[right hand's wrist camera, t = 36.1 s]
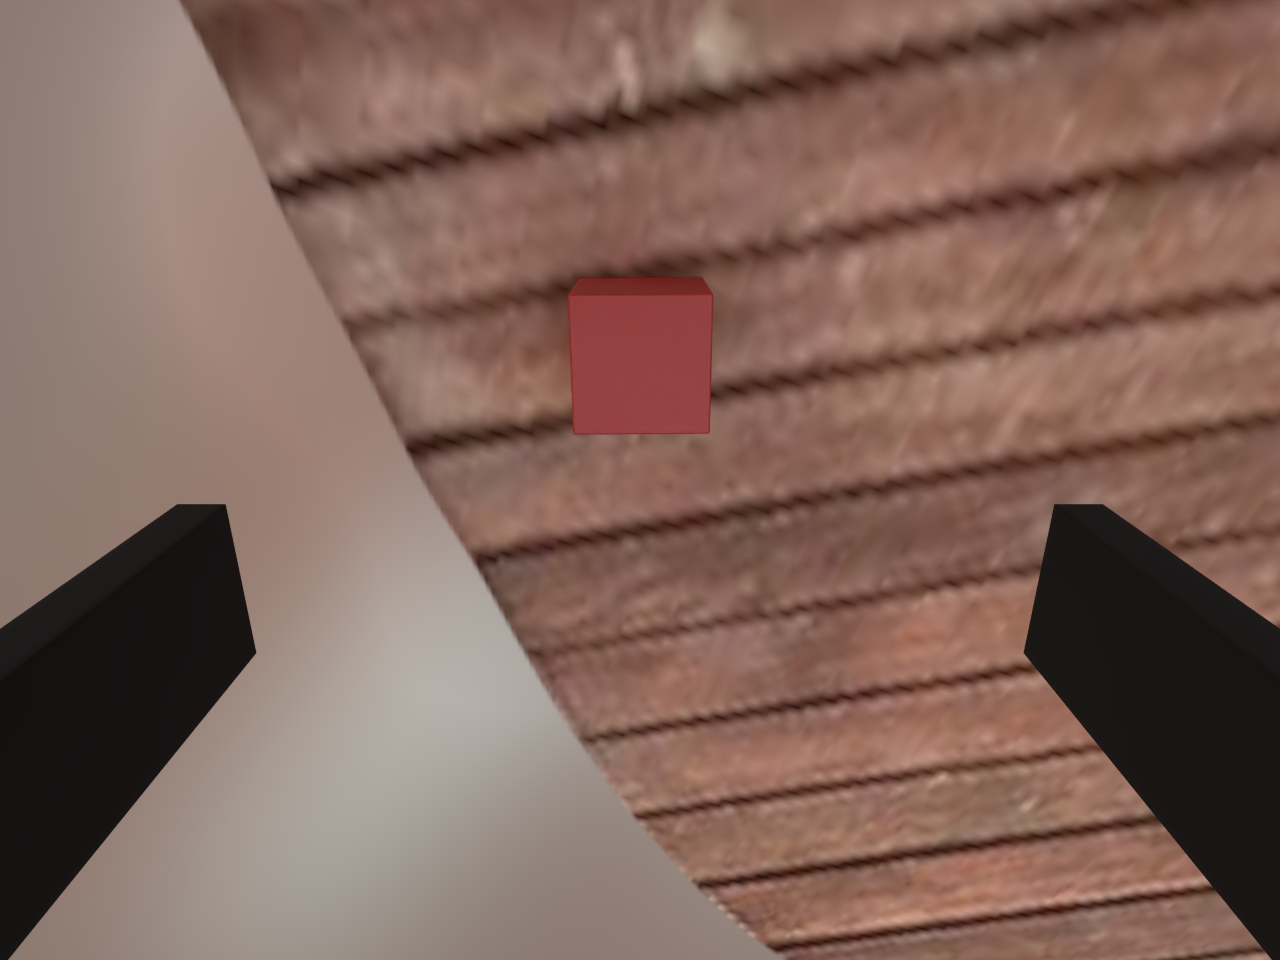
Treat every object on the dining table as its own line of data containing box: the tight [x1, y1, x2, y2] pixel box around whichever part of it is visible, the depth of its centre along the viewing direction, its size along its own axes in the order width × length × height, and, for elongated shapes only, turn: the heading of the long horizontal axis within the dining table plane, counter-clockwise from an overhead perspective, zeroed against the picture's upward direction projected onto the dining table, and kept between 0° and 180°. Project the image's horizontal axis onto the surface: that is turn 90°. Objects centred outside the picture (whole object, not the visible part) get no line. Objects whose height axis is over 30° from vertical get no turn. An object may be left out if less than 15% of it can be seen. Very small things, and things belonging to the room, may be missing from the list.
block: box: [568, 277, 713, 434], centre depth 30 cm, size 5×5×5 cm
